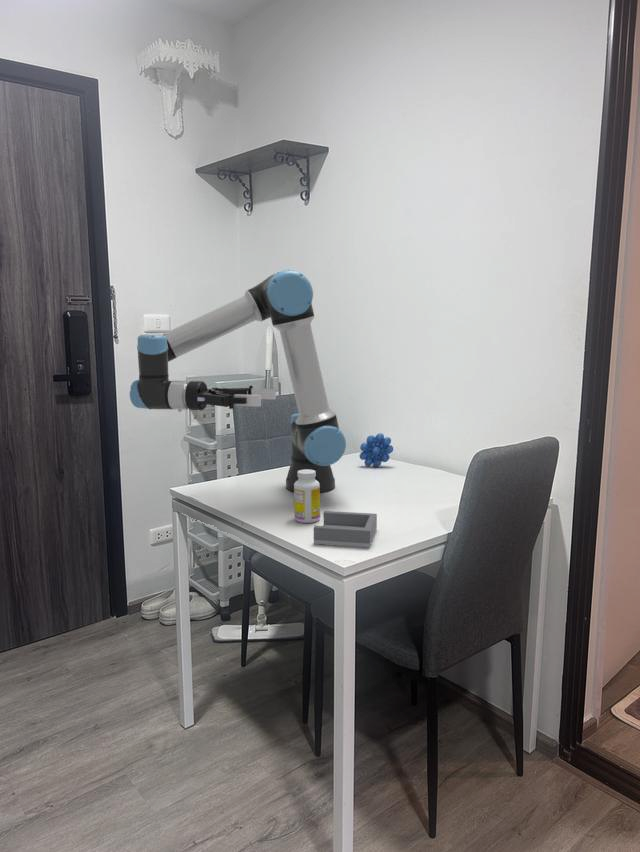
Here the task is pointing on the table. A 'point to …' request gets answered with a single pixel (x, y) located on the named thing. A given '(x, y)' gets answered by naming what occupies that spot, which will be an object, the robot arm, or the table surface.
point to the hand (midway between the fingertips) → (268, 397)
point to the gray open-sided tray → (346, 529)
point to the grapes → (376, 450)
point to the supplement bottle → (306, 497)
